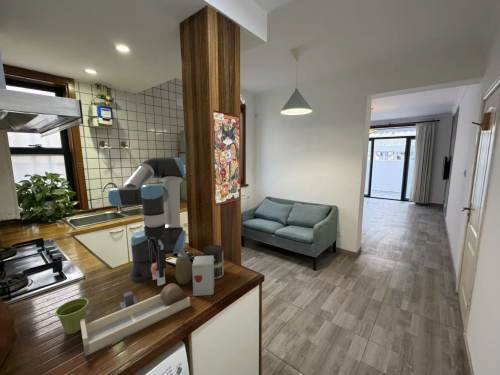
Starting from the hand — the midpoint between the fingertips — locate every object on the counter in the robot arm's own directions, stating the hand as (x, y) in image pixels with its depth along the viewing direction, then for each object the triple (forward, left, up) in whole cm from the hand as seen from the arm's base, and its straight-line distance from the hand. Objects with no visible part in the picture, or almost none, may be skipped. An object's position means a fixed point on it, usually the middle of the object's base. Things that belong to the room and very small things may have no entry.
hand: (158, 281), depth 88 cm
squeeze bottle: (-14, +16, -13) cm, 25 cm away
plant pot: (-12, -27, -13) cm, 32 cm away
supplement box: (-1, +20, -13) cm, 24 cm away
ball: (0, 0, +5) cm, 5 cm away
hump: (0, +5, -13) cm, 14 cm away
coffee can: (-10, +31, -13) cm, 35 cm away
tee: (-13, -9, -13) cm, 20 cm away
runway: (0, -8, -13) cm, 15 cm away
